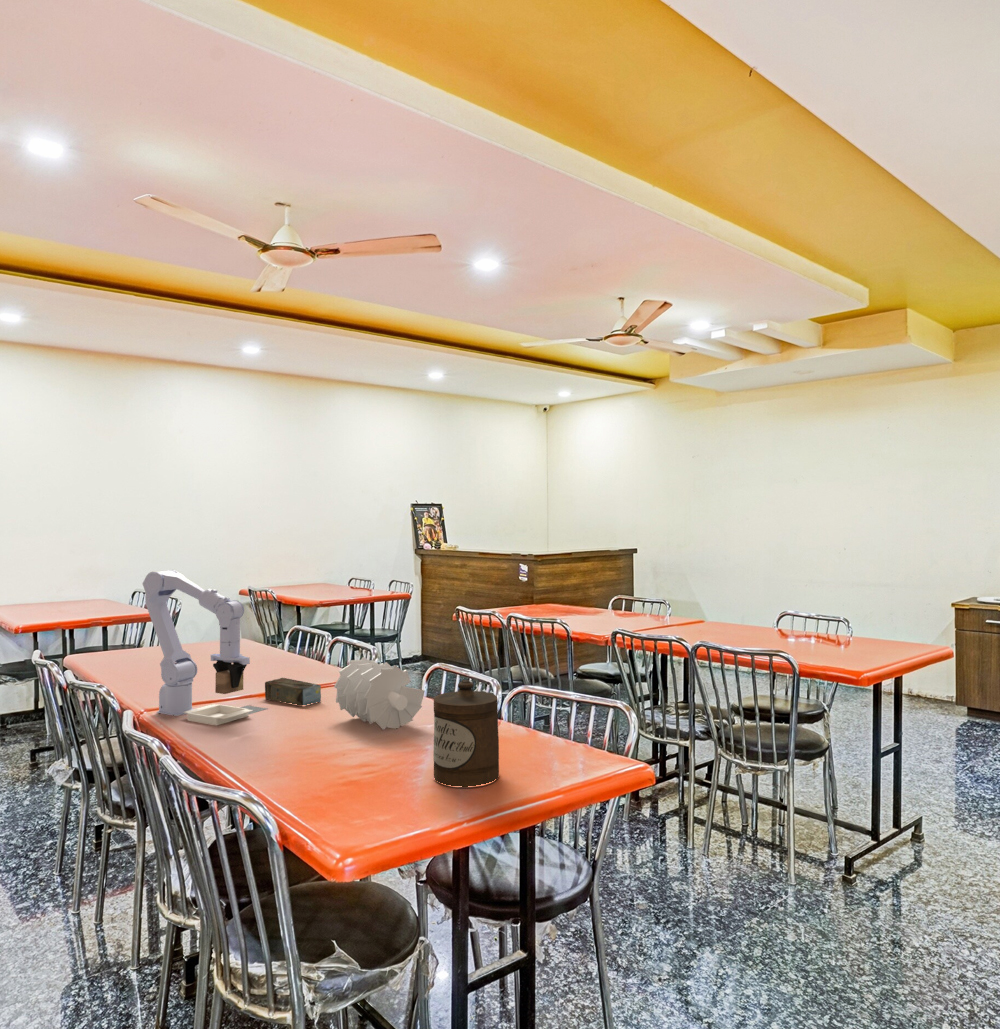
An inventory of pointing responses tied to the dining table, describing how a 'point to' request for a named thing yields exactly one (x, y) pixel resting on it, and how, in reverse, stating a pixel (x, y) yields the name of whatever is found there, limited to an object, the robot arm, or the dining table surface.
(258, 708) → the mat
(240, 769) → the dining table surface
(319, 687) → the beverage carton
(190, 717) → the white tray
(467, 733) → the wooden container
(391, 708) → the spiral staircase
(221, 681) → the walnut block
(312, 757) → the dining table surface
